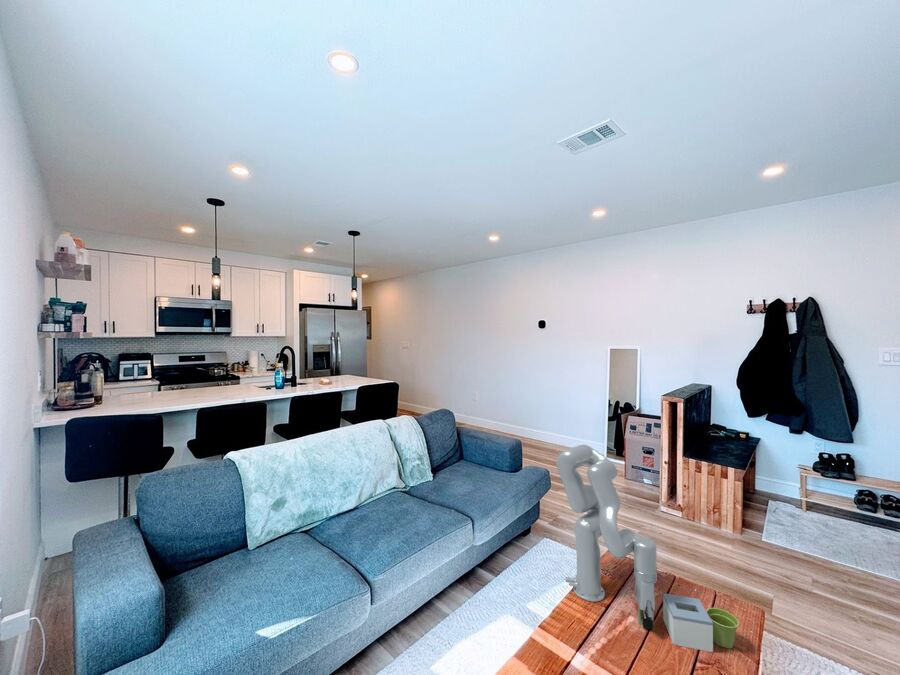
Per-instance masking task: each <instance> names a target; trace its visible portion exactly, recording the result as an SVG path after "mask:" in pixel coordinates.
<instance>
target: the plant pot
mask: <svg viewBox="0 0 900 675" xmlns="http://www.w3.org/2000/svg"><path fill="white" fill-rule="evenodd" d="M705 610H706V612H707V614H708V615H709V617H710V619H711V621H712V622H713V643H715V644H716V645H718V646H719V647H721V648H726V649H733V648H734V644H735V639H736V638H735V637H736V630H737V629H738V627H739V626H740V622H739V619H738V618H736V616H734V614H732V613H731V612H729V611H726V610H725V609H722V608H718V607H710V608H707V609H705Z"/></svg>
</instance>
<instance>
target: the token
mask: <svg viewBox="0 0 900 675" xmlns="http://www.w3.org/2000/svg"><path fill="white" fill-rule="evenodd" d="M646 613H648V611H646ZM654 614H655V613H654V612H653V611H652V617H653V628H655V620H654V618H655V617H654V616H655V615H654ZM643 616H644V614H643V610H641V609H640V608H639V606H638V607H637V623H638V625H640V626H643Z"/></svg>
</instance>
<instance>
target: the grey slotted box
mask: <svg viewBox="0 0 900 675" xmlns="http://www.w3.org/2000/svg"><path fill="white" fill-rule="evenodd" d="M662 594H663V595H662V597H663V598H662V600H663V602H662V606H663V607H662V608H663V612H662V613H663V619H662V620H663V622H664V624H665V628H666V629H667V632H668V634H669V637H670V639H671V642H672V644H673V645H674V646H678V647H679V646H680V647H684V648H689V649H695V650H699V651H704V652H709V653H714V641H713V622H712V621H711V619H710V617H709V615H708V614H707V612H706V610H707V609H705V607H704V605H703V602H702V601H701V600H700V599H699V598H695V597H688V596H682V595H678V594H677V595H676V594H670V593H662Z"/></svg>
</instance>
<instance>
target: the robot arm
mask: <svg viewBox="0 0 900 675" xmlns="http://www.w3.org/2000/svg"><path fill="white" fill-rule="evenodd" d="M584 466H588V468H587V469H586V474H587V479H588V480H589V484H584V481H583V478H582V476H581V474H580V473H579V472H578V470H577V469H579V468H581V467H584ZM556 469H557V472H558V474H559V476H560V479H561V481H562V484H563V485H562V486H563V488H564V491H565V494H566V498H567V500H568V504H569V507H570V509H571V510H572V511H573V512H574V513H576V514H584V513H585V514H584V515H582V516H580V517H579V518H578V519H577V520H576V521H575V523H574V525H573V531H574V535H575V536H574V537H575V542H576V544H575V546H576V548H575V549H576V574H575V577H570V576H565V582H566V583H568V586H569V587H570V586H571V587H572V590H573V592H574V594H575V595H577V597H578V598H580V599H582V600H584V601H587V602H594V603H595V602H596V603H597V602H601V601H603V600H604V599H605V596H606V595H605V594H606V593H605V589H604V588H603V586H602V584H601V582H602V581H601V579H602V578H601V570H602V569H601V548H600V545H599V542H598V541H599V538H600V537H602V539H603V541H604V544H605V546H606V548H607V550H608V551H609V553H610V554H611V555H612V556H613V557H615V558H616V559H625V558H626V557H627V556H628V555H630V554H631V553H633V566H634V567H633V571H634V572H633V575H634V578H635V585H634V588H635V589H634V593H635V594H634V595H635V599H636V601H637V605H638V607H639V608H640V609H641V610H643V614H644V616H643V625H642V628H643V629H647V630H653V628H654V627H653V617H652V611H653V613H654V612H655V611H656V610H655V609H656V598H655V584H656V583H657V581H658V579H657V578H658V577H657V575H658V574H657V573H658V572H657V569H658V566H657V561H658V560H657V557H658V556H657V552H658V551H657V545H656V543H655V542H654V541H653V540H652V539H649V538H647V537H643V536H641V535H639V534H638V533H636V532H634V531H632V530H631V529H628V528H623V529H621V530H619V529H618V521H617V520H618V515H619V514H618V513H619V510H620V507H621V499H620V496H619V495H618V494H619V493H618V492H617V490H616V487H615V485H614V482H613V480H614V479H616V477H617V476H618V470H617V467H616V466H615V464H614V462H612V461H611V460H610V459H608V458H607V457H606V456H605V455H603V454H601V453H600V452H599V451H597V450H596V449H594V448H593V447H591V446H589V445H587V444H580V445H576V446H574V447H570V448H567V449H566V450H564V451H561V453H560V454H559V455H558V456H557V459H556ZM574 587H575V588H574ZM573 588H574V589H573ZM646 611H648V613H646Z"/></svg>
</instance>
